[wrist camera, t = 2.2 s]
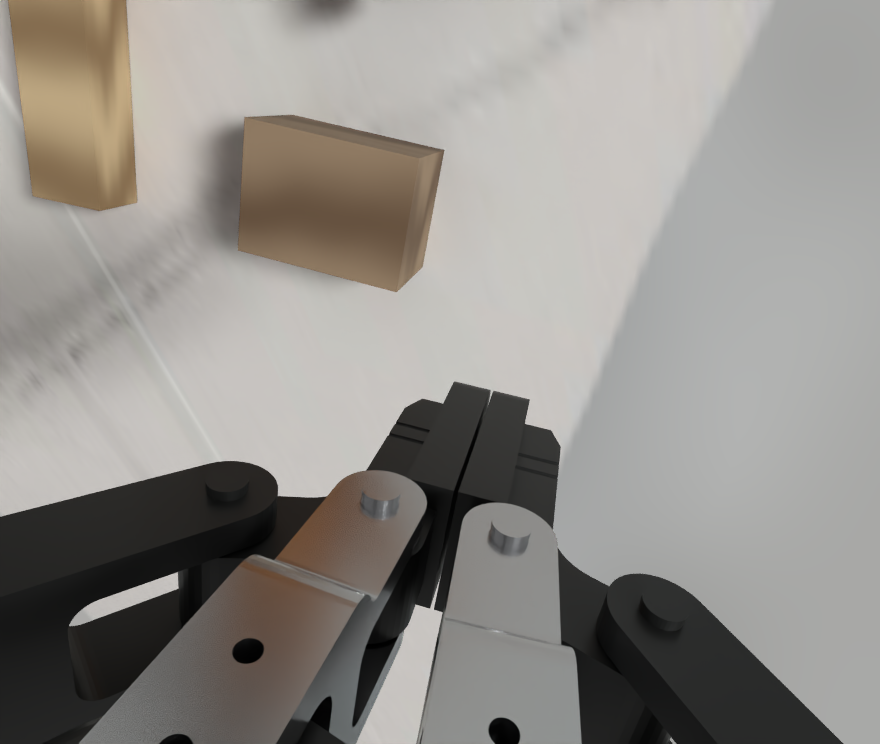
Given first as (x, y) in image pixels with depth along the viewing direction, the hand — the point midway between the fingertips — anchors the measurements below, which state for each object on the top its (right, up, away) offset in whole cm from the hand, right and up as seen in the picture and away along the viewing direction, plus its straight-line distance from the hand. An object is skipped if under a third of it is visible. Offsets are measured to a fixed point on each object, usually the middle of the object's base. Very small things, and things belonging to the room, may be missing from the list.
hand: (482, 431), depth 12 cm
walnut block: (-5, +11, +20) cm, 23 cm away
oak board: (-19, +19, +20) cm, 33 cm away
